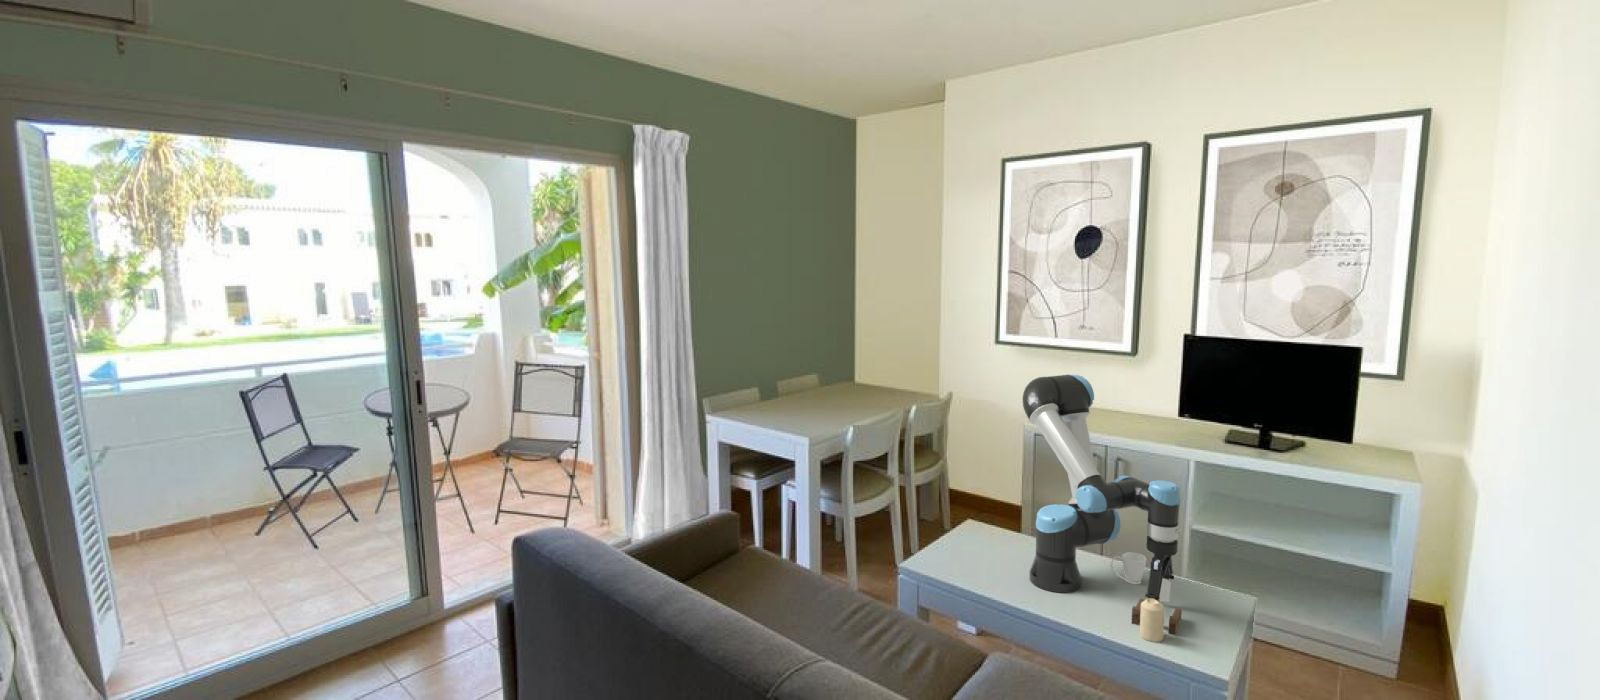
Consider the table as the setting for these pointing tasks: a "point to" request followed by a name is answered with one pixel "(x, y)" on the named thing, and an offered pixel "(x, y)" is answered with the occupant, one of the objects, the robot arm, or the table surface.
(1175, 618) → the wooden stepped bars
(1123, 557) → the cup
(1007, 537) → the table surface
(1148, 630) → the candle
